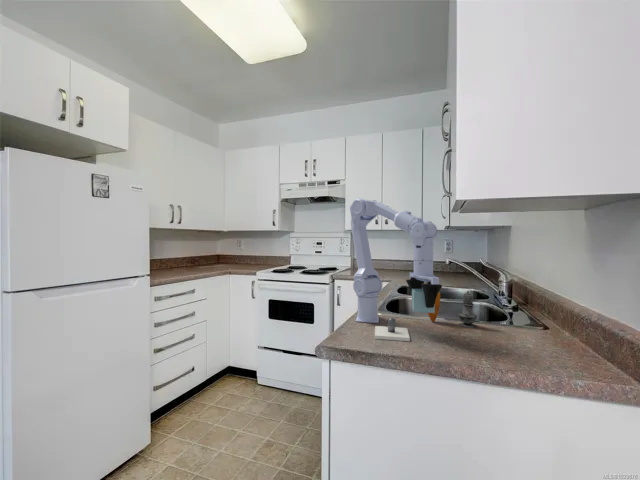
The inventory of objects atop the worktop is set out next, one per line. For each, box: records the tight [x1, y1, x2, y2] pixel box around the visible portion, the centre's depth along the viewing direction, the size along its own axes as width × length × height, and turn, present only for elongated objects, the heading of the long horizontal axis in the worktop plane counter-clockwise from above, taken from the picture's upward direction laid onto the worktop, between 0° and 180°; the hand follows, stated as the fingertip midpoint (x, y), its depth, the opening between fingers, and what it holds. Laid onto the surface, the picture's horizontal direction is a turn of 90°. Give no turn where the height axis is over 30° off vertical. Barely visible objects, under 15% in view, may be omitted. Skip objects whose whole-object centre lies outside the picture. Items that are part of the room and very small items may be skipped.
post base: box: [374, 317, 411, 342], centre depth 93 cm, size 10×10×5 cm
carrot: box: [426, 282, 441, 323], centre depth 108 cm, size 5×5×15 cm
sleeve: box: [411, 288, 435, 314], centre depth 94 cm, size 6×6×6 cm
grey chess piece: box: [458, 290, 478, 329], centre depth 104 cm, size 6×6×12 cm
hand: (422, 304), depth 94 cm, fingers closed on sleeve, 7 cm apart
